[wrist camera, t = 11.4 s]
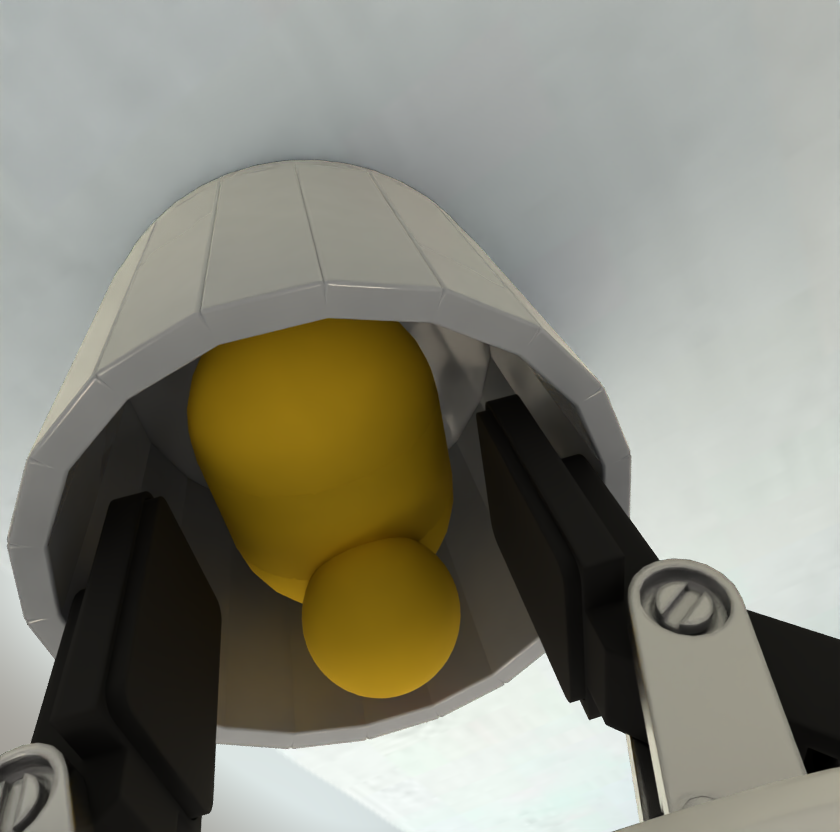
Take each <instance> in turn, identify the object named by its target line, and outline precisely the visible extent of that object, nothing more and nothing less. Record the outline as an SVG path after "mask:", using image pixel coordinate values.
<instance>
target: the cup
mask: <svg viewBox="0 0 840 832" xmlns="http://www.w3.org/2000/svg"><path fill="white" fill-rule="evenodd" d="M326 318H335V319H357V320H378V321H398V322H399V323H400V324H401V325H402V326H403V327H404V328H405V329H406V330H407V331H408V332H409V333H410V334H411V336H412V337H413V338H414V339H415V340H416V342H417V343H418V345H419V347H420V349H421V350H422V352H423V354H424V356H425V357H426V359H427V361H428V363H429V366H430V368H431V370H432V374H433V377H434V380H435V384H436V387H437V392H438V397H439V402H440V408H441V414H442V419H443V425H444V431H445V436H446V442H447V448H448V453H449V459H450V465H451V470H452V481H453V506H452V511H451V516H450V521H449V525H448V530H447V533H446V535H445V537H444V539H443V541H442V543H441V546H440V547H439V549H438V551H437V553H436V555H437V556H438V557H439V559H440V560H441V561H442V562H443V563H444V565H445V566H446V567H447V569H448V571H449V572H450V574H451V576H452V578H453V580H454V583H455V585H456V588H457V592H458V596H459V601H460V614H461V617H460V627H459V633H458V637H457V640H456V643H455V646H454V648H453V651H452V652H451V654H450V656H449V658H448V660H447V661H446V663H445V664H444V666H443V667H442V668H441V669H440V670H439V672H438V673H437V674H436V675H435V676H434V677H433V678H432V679H431V680H429V681H428V682H427V683H425V684H424V685H422V686H421V687H419V688H417V689H415V690H413V691H411V692H409V693H406V694H403V695H400V696H396V697H391V698H370V697H363V696H359V695H356V694H354V693H351V692H348V691H346V690H344V689H343V688H341V687H339V686H338V685H336V684H335V683H333V682H332V681H331V680H330V679H329V678H328V677H327V676H325V675H324V674H323V672H322V671H321V670H320V669H319V667H318V666H317V665H316V663H315V662H314V660H313V658H312V656H311V654H310V652H309V650H308V648H307V645H306V641H305V638H304V635H303V627H302V605H303V604H302V603H300V602H298V601H295V600H293V599H291V598H288V597H286V596H284V595H282V594H280V593H278V592H276V591H275V590H274V589H273V588H271V587H270V586H269V585H268V584H266V583H265V582H264V581H263V580H262V579H261V578H260V577H258V576H257V575H256V574H255V573H254V572H253V571H252V570H251V569H250V567H249V566H248V564H247V563H246V561H245V560H244V558H243V556H242V555H241V553H240V552H239V550H238V549H237V548H236V546H235V544H234V541H233V539H232V537H231V535H230V532H229V530H228V528H227V526H226V524H225V522H224V519H223V517H222V515H221V513H220V511H219V508H218V506H217V504H216V502H215V500H214V498H213V495H212V493H211V491H210V489H209V487H208V485H207V482H206V480H205V478H204V476H203V474H202V471H201V469H200V467H199V465H198V463H197V461H196V457H195V454H194V450H193V447H192V444H191V440H190V436H189V432H188V419H187V405H188V398H189V392H190V387H191V381H192V376H193V373H194V371H195V369H196V367H197V364H198V362H199V360H200V358H201V355H203V354H205V353H206V352H208V351H210V350H211V349H213V348H215V347H216V346H218V345H221V344H225V343H229V342H233V341H237V340H241V339H245V338H249V337H253V336H257V335H261V334H265V333H269V332H274V331H278V330H282V329H286V328H290V327H294V326H298V325H302V324H306V323H310V322H314V321H318V320H322V319H326ZM513 394H518V396H519V397H520V398H521V400H522V401H523V403H524V404H525V406H526V407H527V409H528V410H529V412H530V413H531V415H532V416H533V418H534V419H535V421H536V422H537V424H538V425H539V427H540V428H541V430H542V431H543V433H544V434H545V436H546V437H547V439H548V440H549V442H550V443H551V445H552V446H553V448H554V449H555V451H556V452H557V454H558V456H559V457H560V459H562V458H565V457H569V456H573V455H576V454H581V455H583V456H584V457H585V458H586V459H587V460H588V461H589V463H590V464H591V465H592V467H593V468H594V470H595V471H596V472H597V474H598V475H599V477H600V478H601V479H602V481H603V482H604V484H605V485H606V486H607V488H608V489H609V491H610V492H611V493H612V495H613V496H614V498H615V499H616V500H617V502H618V503H619V505H620V506H621V507H622V509H623V510H624V512H625V513H626V514H627V516H628V517H629V518H630V491H631V455H630V449H629V446H628V444H627V441H626V439H625V437H624V434H623V432H622V429H621V427H620V424H619V422H618V420H617V417H616V415H615V412H614V410H613V408H612V405H611V403H610V400H609V398H608V395H607V393H606V391H605V388H604V387H603V386H602V385H601V382H600V381H599V380H598V379H597V378H596V377H595V375H594V374H593V373H592V372H591V371H590V370H589V369H588V368H587V366H586V365H585V364H584V363H583V362H582V361H581V360H580V359H579V357H578V356H577V355H576V354H575V353H574V352H573V351H572V350H571V348H570V347H569V346H568V345H567V344H566V343H565V342H564V341H563V339H562V338H561V337H560V336H559V335H558V334H557V333H556V332H555V330H554V329H553V328H552V327H551V326H550V325H549V324H548V323H547V321H546V320H545V319H544V318H543V317H542V316H541V315H540V314H539V312H538V311H537V310H536V309H535V308H534V307H533V306H532V305H531V303H530V302H529V301H528V300H527V299H526V298H525V297H524V296H523V294H522V293H521V292H520V291H519V290H518V289H517V288H516V287H515V285H514V284H513V283H512V282H511V281H510V280H509V279H508V278H507V276H506V275H505V274H504V273H503V272H502V271H501V270H500V269H499V267H498V266H497V265H496V264H495V263H494V262H493V261H492V260H491V258H490V257H489V256H488V255H487V254H486V253H485V252H484V251H483V250H482V248H481V247H480V246H479V245H478V244H477V243H476V242H475V241H474V240H473V239H472V238H471V237H470V236H469V235H468V234H467V233H466V232H465V231H464V230H463V229H462V228H461V227H460V226H459V225H458V224H457V223H456V222H455V221H454V220H453V219H452V218H451V217H450V216H449V215H448V214H447V213H446V212H445V211H444V210H443V209H441V208H440V207H439V206H438V205H437V204H436V203H434V202H433V201H432V200H431V199H429V198H428V197H426V196H425V195H423V194H422V193H420V192H418V191H416V190H415V189H413V188H411V187H410V186H408V185H406V184H405V183H403V182H401V181H399V180H396V179H394V178H391V177H389V176H386V175H384V174H382V173H379V172H377V171H374V170H370V169H366V168H362V167H359V166H355V165H351V164H347V163H339V162H331V161H322V160H287V161H280V162H274V163H267V164H260V165H255V166H252V167H249V168H245V169H242V170H239V171H235V172H232V173H229V174H226V175H224V176H222V177H220V178H218V179H215V180H213V181H211V182H209V183H207V184H204V185H202V186H200V187H199V188H197V189H196V190H194V191H192V192H191V193H189V194H188V195H186V196H185V197H183V198H182V199H180V200H179V201H177V202H175V203H174V204H173V205H172V206H171V207H170V208H169V209H168V210H166V211H165V212H164V213H163V214H162V215H161V216H160V217H158V218H157V219H156V220H155V221H154V222H153V223H152V224H151V226H150V227H149V228H148V229H147V230H146V232H145V233H144V234H143V235H142V236H141V237H140V239H139V240H138V241H137V242H136V244H135V245H134V247H133V248H132V250H131V252H130V253H129V255H128V257H127V258H126V260H125V262H124V263H123V264H122V266H121V267H120V268H119V269H118V271H117V272H116V273H115V275H114V278H113V279H112V282H111V284H110V286H109V288H108V290H107V292H106V294H105V296H104V298H103V300H102V302H101V305H100V307H99V309H98V311H97V313H96V315H95V317H94V319H93V321H92V323H91V325H90V328H89V330H88V332H87V334H86V336H85V338H84V340H83V342H82V344H81V346H80V348H79V351H78V353H77V355H76V357H75V359H74V361H73V363H72V365H71V367H70V369H69V371H68V374H67V376H66V378H65V380H64V382H63V384H62V386H61V388H60V390H59V392H58V394H57V397H56V399H55V401H54V403H53V405H52V407H51V409H50V411H49V413H48V415H47V417H46V420H45V422H44V424H43V426H42V428H41V430H40V432H39V434H38V436H37V438H36V441H35V443H34V445H33V447H32V449H31V451H30V453H29V455H28V457H27V459H26V463H25V467H24V471H23V475H22V479H21V483H20V487H19V492H18V496H17V500H16V504H15V508H14V512H13V516H12V520H11V524H10V528H9V532H8V536H7V542H8V544H7V549H8V553H9V557H10V561H11V565H12V570H13V574H14V578H15V582H16V586H17V591H18V595H19V599H20V603H21V607H22V611H23V615H24V619H25V620H26V622H27V625H28V626H29V627H30V628H31V630H32V631H33V632H34V633H35V635H36V636H37V637H38V639H39V640H40V641H41V642H42V644H43V645H44V646H45V647H46V648H47V650H48V651H49V652H50V654H51V655H52V656H53V657H54V659H56V655H57V652H58V648H59V645H60V642H61V638H62V635H63V631H64V628H65V625H66V621H67V618H68V614H69V611H70V608H71V604H72V601H73V599H74V597H75V595H76V594H77V593H78V592H79V591H80V590H82V589H85V588H86V586H87V582H88V579H89V575H90V572H91V568H92V564H93V561H94V557H95V553H96V550H97V546H98V543H99V539H100V535H101V532H102V528H103V525H104V521H105V517H106V514H107V510H108V506H109V504H110V502H111V501H112V500H114V499H117V498H121V497H125V496H129V495H133V494H136V493H140V492H144V491H148V492H149V493H151V494H152V496H153V497H154V498H155V497H159V496H162V497H163V498H165V500H166V501H167V503H168V505H169V507H170V509H171V511H172V513H173V515H174V517H175V519H176V521H177V522H178V524H179V526H180V528H181V530H182V532H183V534H184V536H185V538H186V540H187V542H188V544H189V546H190V548H191V549H192V551H193V553H194V555H195V557H196V559H197V561H198V563H199V565H200V567H201V569H202V571H203V573H204V575H205V577H206V578H207V580H208V582H209V584H210V586H211V588H212V590H213V592H214V594H215V596H216V598H217V600H218V602H219V606H220V610H221V617H222V626H221V647H220V668H219V689H218V710H217V731H216V744H226V745H240V746H254V747H268V748H282V749H289V748H293V749H296V748H304V747H313V746H321V745H330V744H338V743H347V742H355V741H364V740H366V739H373V738H376V737H379V736H382V735H386V734H389V733H392V732H396V731H399V730H402V729H406V728H409V727H412V726H416V725H419V724H422V723H425V722H429V721H432V720H435V719H438V718H439V717H443V716H445V715H447V714H449V713H451V712H453V711H455V710H457V709H459V708H461V707H463V706H464V705H466V704H468V703H470V702H472V701H474V700H476V699H478V698H480V697H482V696H484V695H486V694H488V693H490V692H492V691H494V690H496V689H498V688H500V687H501V686H503V685H504V683H508V682H509V681H511V680H512V679H513V678H514V677H516V676H517V675H518V674H519V673H521V672H522V671H523V670H524V669H526V668H527V667H528V666H529V665H531V664H532V663H533V662H534V661H536V660H537V659H538V658H539V657H541V656H542V655H543V654H544V653H546V652H545V650H544V648H543V645H542V643H541V641H540V639H539V636H538V634H537V632H536V630H535V627H534V625H533V623H532V621H531V618H530V616H529V614H528V612H527V610H526V607H525V605H524V603H523V601H522V598H521V596H520V594H519V592H518V589H517V587H516V585H515V583H514V580H513V578H512V576H511V574H510V571H509V569H508V567H507V565H506V562H505V560H504V558H503V556H502V553H501V551H500V549H499V547H498V544H497V542H496V539H495V536H494V533H493V530H492V525H491V519H490V512H489V505H488V498H487V491H486V484H485V477H484V470H483V463H482V456H481V449H480V442H479V435H478V428H477V421H476V413H477V412H481V411H485V403H486V402H487V401H491V400H494V399H498V398H502V397H506V396H510V395H513Z"/></svg>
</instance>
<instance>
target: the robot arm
mask: <svg viewBox="0 0 840 832" xmlns="http://www.w3.org/2000/svg"><path fill="white" fill-rule="evenodd" d="M476 421H477V428H478V435H479V442H480V449H481V456H482V463H483V470H484V477H485V484H486V491H487V498H488V505H489V512H490V519H491V525H492V530H493V533H494V536H495V539H496V542H497V544H498V547H499V549H500V551H501V553H502V556H503V558H504V560H505V562H506V565H507V567H508V569H509V571H510V574H511V576H512V578H513V580H514V583H515V585H516V587H517V589H518V592H519V594H520V596H521V598H522V601H523V603H524V605H525V607H526V610H527V612H528V614H529V616H530V618H531V621H532V623H533V625H534V627H535V630H536V632H537V634H538V636H539V639H540V641H541V643H542V645H543V648H544V650H545V652H546V654H547V657H548V659H549V661H550V663H551V666H552V668H553V670H554V672H555V675H556V677H557V679H558V681H559V684H560V686H561V688H562V690H563V692H564V695H565V697H566V699H567V700H568V702H570V703H571V702H575V701H578V700H580V702H581V704H582V706H583V708H584V710H585V713H586V715H587V717H588V719H589V720H591V719H594V718H597V717H600V716H602V718H603V720H604V722H605V724H606V725H607V726H610V727H612V728H614V729H616V730H618V731H621V732H623V733H625V734H626V740H627V746H628V753H629V759H630V765H631V772H632V778H633V784H634V790H635V797H636V803H637V809H638V815H639V822H640V823H638V824H635V825H631V826H628V827H625V828H622V829H619V830H616V831H613V832H840V639H836V638H833V637H830V636H827V635H824V634H821V633H818V632H815V631H811V630H808V629H805V628H802V627H799V626H796V625H793V624H790V623H787V622H783V621H780V620H777V619H774V618H771V617H768V616H765V615H762V614H759V613H755V612H752V611H749V610H746V607H745V604H744V602H743V599H742V597H741V595H740V593H739V592H738V590H737V588H736V587H735V585H734V584H733V583H732V582H731V581H730V580H729V579H728V578H727V577H726V576H725V575H723V574H722V573H721V572H719V571H717V570H715V569H714V568H712V567H710V566H708V565H706V564H703V563H699V562H696V561H692V560H687V559H666V560H659V559H658V558H657V556H656V555H655V553H654V552H653V551H652V549H651V548H650V546H649V545H648V544H647V542H646V541H645V539H644V538H643V537H642V535H641V534H640V532H639V531H638V530H637V528H636V527H635V525H634V524H633V523H632V521H631V520H630V518H629V517H628V516H627V514H626V513H625V512H624V510H623V509H622V507H621V506H620V505H619V503H618V502H617V500H616V499H615V498H614V496H613V495H612V493H611V492H610V491H609V489H608V488H607V486H606V485H605V484H604V482H603V481H602V479H601V478H600V477H599V475H598V474H597V472H596V471H595V470H594V468H593V467H592V465H591V464H590V463H589V461H588V460H587V459H586V458H585V457H584V456H583V455H581V454H576V455H573V456H569V457H565V458H562V459H560V457H559V456H558V454H557V452H556V451H555V449H554V448H553V446H552V445H551V443H550V442H549V440H548V439H547V437H546V436H545V434H544V433H543V431H542V430H541V428H540V427H539V425H538V424H537V422H536V421H535V419H534V418H533V416H532V415H531V413H530V412H529V410H528V409H527V407H526V406H525V404H524V403H523V401H522V400H521V398H520V397H519V396H518V394H513V395H510V396H506V397H502V398H498V399H494V400H491V401H487V402H486V403H485V411H481V412H477V413H476ZM221 626H222V617H221V610H220V606H219V602H218V600H217V598H216V596H215V594H214V592H213V590H212V588H211V586H210V584H209V582H208V580H207V578H206V577H205V575H204V573H203V571H202V569H201V567H200V565H199V563H198V561H197V559H196V557H195V555H194V553H193V551H192V549H191V548H190V546H189V544H188V542H187V540H186V538H185V536H184V534H183V532H182V530H181V528H180V526H179V524H178V522H177V521H176V519H175V517H174V515H173V513H172V511H171V509H170V507H169V505H168V503H167V501H166V500H165V498H163V497H162V496H159V497H155V498H154V497H153V496H152V494H151V493H149V492H148V491H144V492H140V493H136V494H133V495H129V496H125V497H121V498H117V499H114V500H112V501H111V502H110V504H109V506H108V510H107V514H106V517H105V521H104V525H103V528H102V532H101V535H100V539H99V543H98V546H97V550H96V553H95V557H94V561H93V564H92V568H91V572H90V575H89V579H88V582H87V586H86V588H85V589H82V590H80V591H79V592H78V593H77V594H76V595H75V597H74V599H73V601H72V604H71V608H70V611H69V614H68V618H67V621H66V625H65V628H64V631H63V635H62V638H61V642H60V645H59V648H58V652H57V655H56V659H55V662H54V666H53V669H52V672H51V676H50V679H49V683H48V686H47V689H46V693H45V696H44V700H43V703H42V706H41V710H40V714H39V717H38V720H37V724H36V727H35V731H34V734H33V737H32V741H31V744H27V745H22V746H19V747H17V748H15V749H12V750H10V751H7V752H5V753H3V754H2V755H0V832H201V818H202V815H205V814H209V813H210V812H211V810H212V805H213V792H214V772H215V751H216V731H217V710H218V689H219V668H220V647H221Z"/></svg>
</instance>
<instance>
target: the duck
mask: <svg viewBox="0 0 840 832" xmlns="http://www.w3.org/2000/svg"><path fill="white" fill-rule="evenodd" d="M187 419H188V432H189V436H190V440H191V444H192V447H193V450H194V454H195V457H196V461H197V463H198V465H199V467H200V469H201V471H202V474H203V476H204V478H205V480H206V482H207V485H208V487H209V489H210V491H211V493H212V495H213V498H214V500H215V502H216V504H217V506H218V508H219V511H220V513H221V515H222V517H223V519H224V522H225V524H226V526H227V528H228V530H229V532H230V535H231V537H232V539H233V541H234V544H235V546H236V548H237V549H238V550H239V552H240V553H241V555H242V556H243V558H244V560H245V561H246V563H247V564H248V566H249V567H250V569H251V570H252V571H253V572H254V573H255V574H256V575H257V576H258V577H260V578H261V579H262V580H263V581H264V582H265V583H266V584H268V585H269V586H270V587H271V588H273V589H274V590H275V591H276V592H278V593H280V594H282V595H284V596H286V597H288V598H291V599H293V600H295V601H298V602H300V603H302V604H303V605H302V627H303V635H304V638H305V641H306V645H307V648H308V650H309V652H310V654H311V656H312V658H313V660H314V662H315V663H316V665H317V666H318V667H319V669H320V670H321V671H322V672H323V674H324V675H325V676H327V677H328V678H329V679H330V680H331V681H332V682H333V683H335V684H336V685H338V686H339V687H341V688H343V689H344V690H346V691H348V692H351V693H354V694H356V695H359V696H363V697H370V698H391V697H396V696H400V695H403V694H406V693H409V692H411V691H413V690H415V689H417V688H419V687H421V686H422V685H424V684H425V683H427V682H428V681H429V680H431V679H432V678H433V677H434V676H435V675H436V674H437V673H438V672H439V670H440V669H441V668H442V667H443V666H444V664H445V663H446V661H447V660H448V658H449V656H450V654H451V652H452V651H453V648H454V646H455V643H456V640H457V637H458V633H459V627H460V617H461V614H460V601H459V596H458V592H457V588H456V585H455V583H454V580H453V578H452V576H451V574H450V572H449V571H448V569H447V567H446V566H445V565H444V563H443V562H442V561H441V560H440V559H439V557H438V556H437V555H436V553H437V551H438V549H439V547H440V546H441V543H442V541H443V539H444V537H445V535H446V533H447V530H448V525H449V521H450V516H451V511H452V506H453V481H452V470H451V465H450V459H449V453H448V448H447V442H446V436H445V431H444V425H443V419H442V414H441V408H440V402H439V397H438V392H437V387H436V384H435V380H434V377H433V374H432V370H431V368H430V366H429V363H428V361H427V359H426V357H425V356H424V354H423V352H422V350H421V349H420V347H419V345H418V343H417V342H416V340H415V339H414V338H413V337H412V336H411V334H410V333H409V332H408V331H407V330H406V329H405V328H404V327H403V326H402V325H401V324H400V323H399V322H398V321H378V320H357V319H335V318H326V319H322V320H318V321H314V322H310V323H306V324H302V325H298V326H294V327H290V328H286V329H282V330H278V331H274V332H269V333H265V334H261V335H257V336H253V337H249V338H245V339H241V340H237V341H233V342H229V343H225V344H221V345H218V346H216V347H215V348H213V349H211V350H210V351H208V352H206V353H205V354H203V355H201V358H200V360H199V362H198V364H197V367H196V369H195V371H194V373H193V376H192V381H191V387H190V392H189V398H188V405H187Z"/></svg>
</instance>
